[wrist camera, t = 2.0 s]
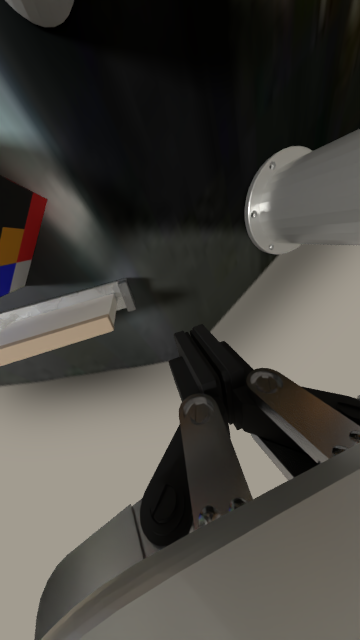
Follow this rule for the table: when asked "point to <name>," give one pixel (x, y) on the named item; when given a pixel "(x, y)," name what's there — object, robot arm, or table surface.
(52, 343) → the screen
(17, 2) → the coffee cup
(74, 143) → the table surface
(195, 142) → the table surface
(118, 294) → the rail
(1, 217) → the puzzle toy
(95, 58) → the table surface
